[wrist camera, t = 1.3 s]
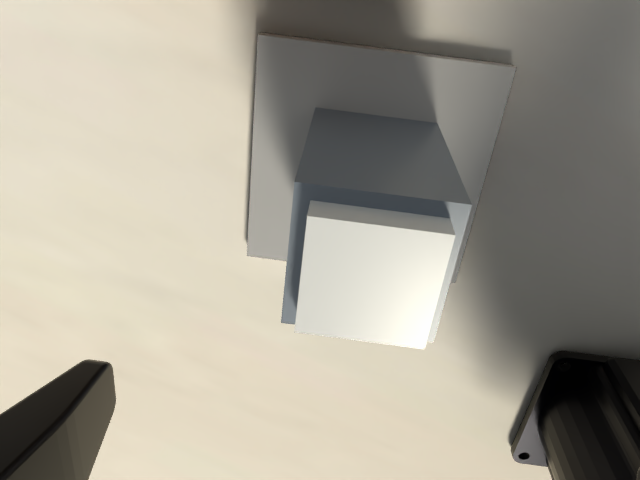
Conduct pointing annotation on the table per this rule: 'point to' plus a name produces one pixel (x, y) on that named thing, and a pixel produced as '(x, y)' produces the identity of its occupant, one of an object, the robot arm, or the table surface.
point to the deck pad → (368, 98)
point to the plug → (373, 229)
